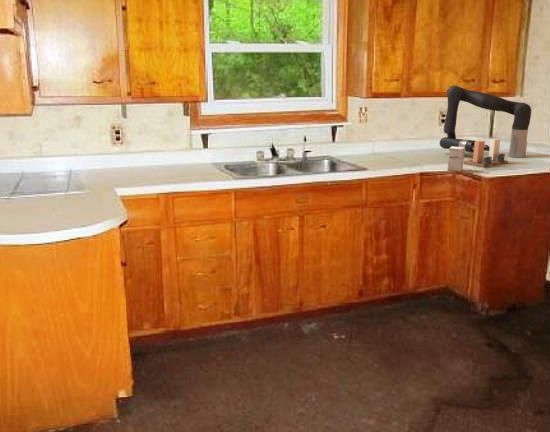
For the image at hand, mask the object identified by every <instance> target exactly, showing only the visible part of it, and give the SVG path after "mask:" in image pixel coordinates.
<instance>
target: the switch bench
mask: <svg viewBox="0 0 550 432" xmlns="http://www.w3.org/2000/svg"><path fill="white" fill-rule="evenodd" d="M505 157H506V155H505V153H499V154H495V160H492V157H489V156H483V162H478V163H476V162H473V159H470V160H465V161H463V165H467V166H474V167H479V168H488V167H495V166H500V165H506V164H508V162H509V160H506V159H505Z"/></svg>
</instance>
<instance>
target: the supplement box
mask: <svg viewBox="0 0 550 432" xmlns="http://www.w3.org/2000/svg"><path fill="white" fill-rule="evenodd" d="M448 150H449V151H448V159H447V160H448V161H447V171H456V172H461V171H462V170H463V169H464V159H465V147H453V146H452V147H450V149H448Z"/></svg>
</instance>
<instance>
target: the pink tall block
mask: <svg viewBox="0 0 550 432" xmlns="http://www.w3.org/2000/svg"><path fill="white" fill-rule="evenodd" d="M474 141H475V144H474V153H473V157H472V160H473V162H476V163H478V162H483V157H484V152H485V151H484V145H486V144H485V143H486V141H485V140H474Z"/></svg>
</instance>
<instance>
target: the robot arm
mask: <svg viewBox="0 0 550 432" xmlns="http://www.w3.org/2000/svg"><path fill="white" fill-rule="evenodd" d="M449 87H450V88H449ZM449 87H448V88H449V89H448V88H447V89H448V90H447V89H446V92H447V94H446V98H447V110H446V114H445V119H444V125H443V133H444V134H445V135H446V136H445V137H443V138H440V140H439V146H440V147H441V148H442V149H445V150H449V149H450V147H452V146H453V147H465V151H464V153H465V152H466V153H472V154H474V144H475V141H476V140H473V139H464V138H463V139H462V138H457V136H456V135H457V134H456V129H457V128H456V127H457V126H456V125H457V118H458V117H457V116H458V111H459V105H460V102H465V103H468V104H471V105H473V106H475V107H478V108H481V109H484V110H488V111H492V112H493V111H494V112H503V113H507V114H510V115H513V116H514V117H513V118H514V119H513V123H512V125H511V133H510V134H511V135H510V141H509V143H510V144H509V150H508V151H509V152H508V157H511V158H525V157H526V155H527V149H528V148H527V147H528V131H529V128H530V127H529V126H530V123H531V117H532V107H531V105H530V104H528V103H526V102H519V101H514V100H513V101H512V100H508V99H505V98H503V97H500V96H497V95H495V94H490V93H486V92H481V91H473V90H469V89H467V88H463V87H461V86H458V85H451V86H449ZM489 149H490V145H488V144H484V152H489Z"/></svg>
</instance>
